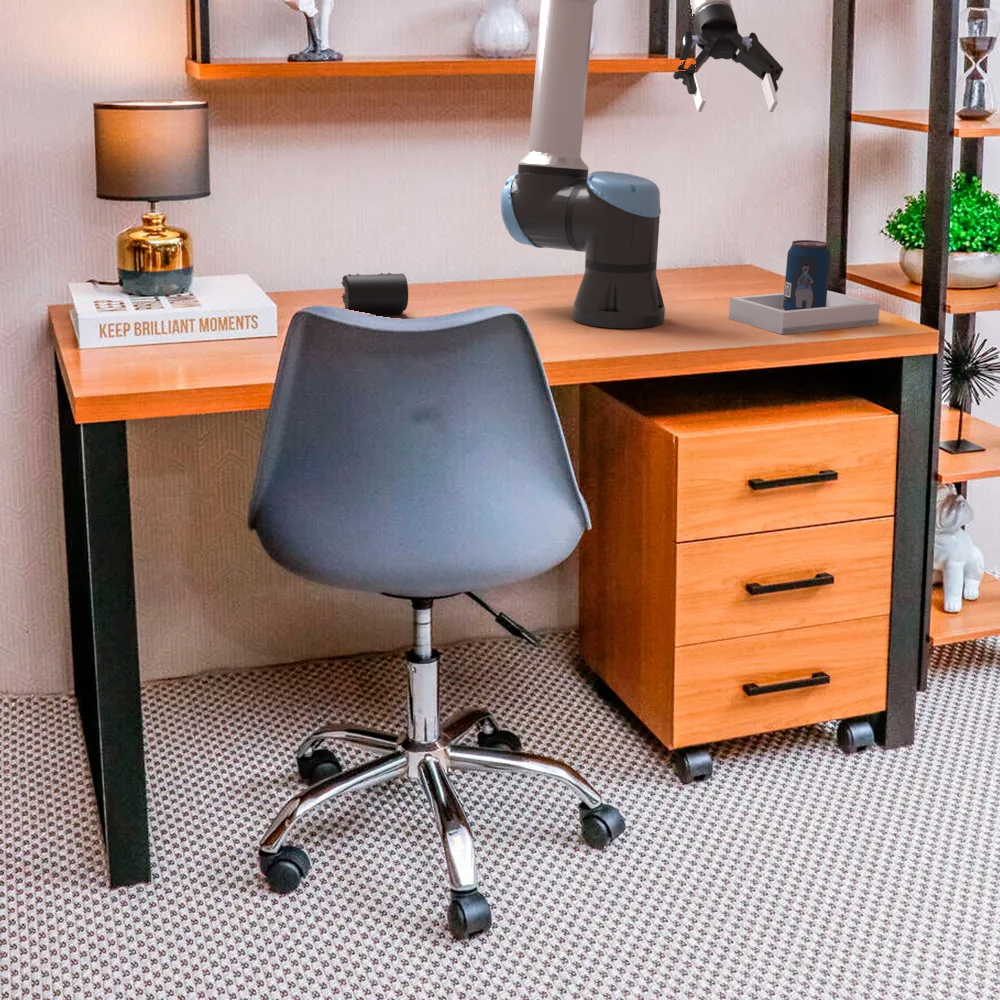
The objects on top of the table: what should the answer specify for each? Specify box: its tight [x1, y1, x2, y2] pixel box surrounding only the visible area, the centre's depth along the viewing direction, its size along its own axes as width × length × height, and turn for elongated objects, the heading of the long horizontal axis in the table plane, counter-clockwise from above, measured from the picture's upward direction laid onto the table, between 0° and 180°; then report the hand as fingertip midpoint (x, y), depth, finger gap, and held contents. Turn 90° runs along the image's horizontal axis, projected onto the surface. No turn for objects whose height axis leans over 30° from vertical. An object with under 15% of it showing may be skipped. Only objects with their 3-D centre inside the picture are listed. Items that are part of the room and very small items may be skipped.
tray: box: [728, 289, 881, 335], centre depth 237 cm, size 20×14×4 cm
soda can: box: [783, 239, 831, 311], centre depth 236 cm, size 7×7×12 cm
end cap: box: [341, 272, 409, 316], centre depth 236 cm, size 10×7×7 cm
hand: (738, 106), depth 253 cm, fingers open, 13 cm apart
